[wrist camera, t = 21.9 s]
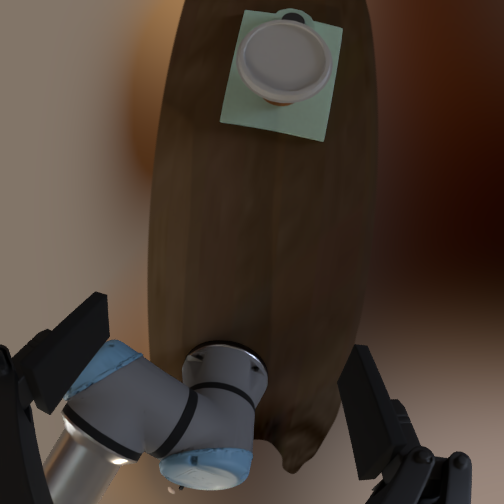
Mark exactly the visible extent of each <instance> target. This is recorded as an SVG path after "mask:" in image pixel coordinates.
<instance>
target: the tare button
mask: <svg viewBox="0 0 504 504" xmlns="http://www.w3.org/2000/svg"><path fill="white" fill-rule="evenodd" d="M282 20H292V21H297V22H300V23H303V24H305V20H304V18H303V17H302V16H301V15H299V14H297V13H287V14H285V15H284V16H283V17H282Z"/></svg>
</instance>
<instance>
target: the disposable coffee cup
mask: <svg viewBox="0 0 504 504" xmlns="http://www.w3.org/2000/svg"><path fill="white" fill-rule="evenodd" d="M236 66H237V70H238V73H239V75H240V77H241V79H242V81H243V82H244V84H245V85H246V86H247V87H248V88H249V89H250V90H251V91H253V92H254V93H255V94H257V95H259V96H260V97H262V98H263V99H264V100H265V101H266V102H268V103H270V104H272V105H275V106H288V105H291V104H293V103H295V102H301V101H304V100H306V99H309V98H311V97H313V96H315V95H316V94H318V93H319V92H320V91H321V90H322V89H323V88H324V87H325V85H326V84H327V82H328V81H329V79H330V76H331V74H332V67H333V63H332V56H331V52H330V50H329V48H328V46H327V44H326V43H325V41H324V40H323V39H322V37H321V36H320V35H319V34H318V33H317V32H316V31H314V30H313V29H312V28H310V27H309V26H307V25H305V24H303V23H300V22H297V21H292V20H273V21H269V22H266V23H263V24H261V25H259V26H257V27H256V28H254V29H253V30H252V31H250V32H249V33H248V34H247V35H246V36H245V37H244V38H243V40H242V41H241V43H240V45H239V47H238V50H237V54H236Z"/></svg>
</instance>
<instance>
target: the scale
mask: <svg viewBox="0 0 504 504" xmlns="http://www.w3.org/2000/svg"><path fill="white" fill-rule="evenodd" d="M287 13H297V14H299V15H301V16H302V17H303V18H304V20H305V25H307V26H309V27H310V28H312V29H313V30H314V31H316V32H317V33H318V34H319V35H320V36H321V37H322V39H323V40H324V41H325V43H326V44H327V46H328V48H329V50H330V52H331V56H332V63H333V67H332V74H331V76H330V79H329V81H328V82H327V84H326V85H325V87H324V88H323V89H322V90H321V91H320V92H319V93H318V94H316V95H315V96H313V97H311V98H309V99H306V100H304V101H301V102H295V103H293V104H291V105H288V106H275V105H272V104H270V103H268V102H266V101H265V100H264V99H263V98H262V97H260V96H259V95H257V94H255V93H254V92H253V91H251V90H250V89H249V88H248V87H247V86H246V85H245V84H244V82H243V81H242V79H241V77H240V75H239V73H238V70H237V66H236V54H237V50H238V47H239V45H240V43H241V41H242V40H243V38H244V37H245V36H246V35H247V34H248V33H249V32H250V31H252V30H253V29H254V28H256V27H257V26H259V25H261V24H263V23H266V22H269V21H273V20H282V17H283V16H284V15H285V14H287ZM342 31H343V28H339V27H335V26H332V25H328V24H324V23H320V22H315V21H313V20H312V18H311V17H310V16H309V15H307V14H306V13H304V12H303V11H301V10H296V9H291V8H289V9H284V10H280V11H278V12H277V13H276V14H273V13H266V12H259V11H250V10H245V12H244V16H243V20H242V24H241V28H240V32H239V36H238V40H237V44H236V48H235V52H234V57H233V61H232V65H231V70H230V74H229V79H228V84H227V88H226V93H225V98H224V103H223V108H222V113H221V118H220V122H221V123H228V124H235V125H241V126H248V127H254V128H259V129H265V130H270V131H275V132H280V133H285V134H290V135H295V136H299V137H304V138H308V139H312V140H317V141H321V142H323V141H324V138H325V132H326V127H327V122H328V117H329V111H330V106H331V100H332V94H333V89H334V83H335V77H336V71H337V64H338V58H339V52H340V45H341V38H342Z"/></svg>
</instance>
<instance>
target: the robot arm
mask: <svg viewBox="0 0 504 504" xmlns="http://www.w3.org/2000/svg"><path fill="white" fill-rule="evenodd" d="M109 337H110V333H109V319H108V302H107V295H106V294H102V293H99V292H94V293H93V294H92V295H91V296H90V297H89V298H87V299H86V300H85V301H84V302H83V303H82V304H81V305H80V306H78V307H77V308H76V309H75V310H74V311H73V312H72V313H71V314H69V315H68V316H67V317H66V318H65V319H64V320H63V321H62V322H61V323H60V324H59V325H58V326H56V327H55V328H54V329H53V330H52V331H51V330H49V329H46V330H44V331H41V332H39V333H38V334H37V335H36V336H35V337H34V338H33V339H32V340H30V341H29V342H28V343H27V345H25V346H24V347H23V348H22V349H21V350H20V351H19V352H18V353H17V354H16V355H14V357H12V358H11V355H10V352H9V349H8V348H7V347H6V346H4V345H0V504H98V503H99V501H100V499H101V498H102V496H103V495H104V493H105V491H106V490H107V488H108V486H109V485H110V483H111V481H112V480H113V478H114V476H115V475H116V473H117V471H118V470H119V468H120V466H122V465H125V464H132V463H136V462H137V461H138V460H139V458H140V456H141V455H142V453H143V452H146V453H148V454H150V455H151V456H153V457H155V458H157V459H159V460H161V461H160V463H159V466H160V472H161V474H162V475H163V476H165V478H166V479H168V480H169V481H171V482H173V483H175V484H178V485H180V486H179V489H180V490H182V489H183V488H184V487H188V488H193V489H200V490H222V489H228V488H232V487H235V486H237V485H239V484H241V483H242V482H244V480H246V478H247V477H248V475H249V471H250V466H251V460H252V459H253V454H252V449H253V433H254V417H255V408H256V406H257V405H258V403H259V401H260V399H261V397H262V396H263V394H264V392H265V390H266V387H267V381H268V372H267V368H266V365H265V363H264V361H263V360H262V359H261V357H260V356H259V355H258V354H257V353H255V352H254V351H253V350H251V349H250V348H248V347H246V346H244V345H241V344H239V343H235V342H231V341H220V340H218V341H209V342H205V343H203V344H200V345H198V346H196V347H195V348H194V349H192V350H191V351H190V353H189V354H188V355H187V357H186V359H185V362H184V365H183V368H182V377H183V383H182V382H180V381H178V380H177V379H175V378H174V377H172V376H171V375H169V374H167V373H166V372H164V371H163V370H161V369H160V368H159V367H157V366H156V365H154V364H153V363H151V362H150V361H149V360H147V359H146V358H144V357H143V354H142V353H138V352H136V351H135V350H133V349H131V348H130V347H129V346H127V345H126V344H124V343H123V342H121V341H119V340H110V341H107V342H106V340H107V339H108V338H109ZM337 384H338V388H339V392H340V396H341V400H342V404H343V408H344V413H345V417H346V421H347V425H348V430H349V435H350V439H351V444H352V448H353V453H354V458H355V463H356V467H357V472H358V477H359V480H369V479H375V478H376V477H377V476H378V475H379V474H380V473H381V472H382V476H383V479H382V480H381V481H380V482H379V483H378V484H377V485H376V486H375V487H374V488H373V489H372V490H373V491H374V492H373V493H372V495H371V496H370V498H369V499H368V501H367V502H366V503H365V504H471V485H472V463H471V460H470V458H469V456H468V455H466V454H465V453H463V452H454V453H453V454H452V455H451V456H450V457H449V458H443V457H435V456H434V454H433V453H432V451H431V450H429V449H428V448H426V447H423V446H421V445H420V443H419V440H418V438H417V435H416V433H415V430H414V428H413V426H412V423H410V422H411V421H410V418H409V417H408V414H407V411H406V409H405V407H404V406H403V405H402V404H401V403H400V401H399V400H398V399H395V400H394V399H393V400H392V399H390V397H389V395H388V392H387V390H386V388H385V385H384V383H383V380H382V378H381V376H380V373H379V371H378V369H377V367H376V364H375V362H374V360H373V357H372V355H371V353H370V351H369V348H368V346H365V345H356V344H354V347H353V349H352V351H351V354H350V356H349V358H348V360H347V362H346V365H345V367H344V369H343V371H342V373H341V375H340V378H339V380H338V382H337ZM62 398H63V399H64V400H66V401H68V402H67V404H66V405H65V407H64V408H63V410H62V417H63V420H64V424H65V429H64V431H63V432H62V434H61V436H60V437H59V439H58V440H57V442H56V444H55V446H54V447H53V449H52V450H51V452H50V454H49V456H48V457H47V459H46V461H45V463H44V464H43V466H42V462H41V458H40V454H39V449H38V444H37V440H36V434H35V428H34V422H33V415H32V409H31V406H30V403H31V402H32V401H33V400H34V401H35V403H36V406H37V408H38V409H40V410H42V411H43V412H45V413H47V414H49V415H51V413H52V412H53V411H54V409H55V408H56V407H57V405H58V404H59V402H60V401H61V400H62Z"/></svg>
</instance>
